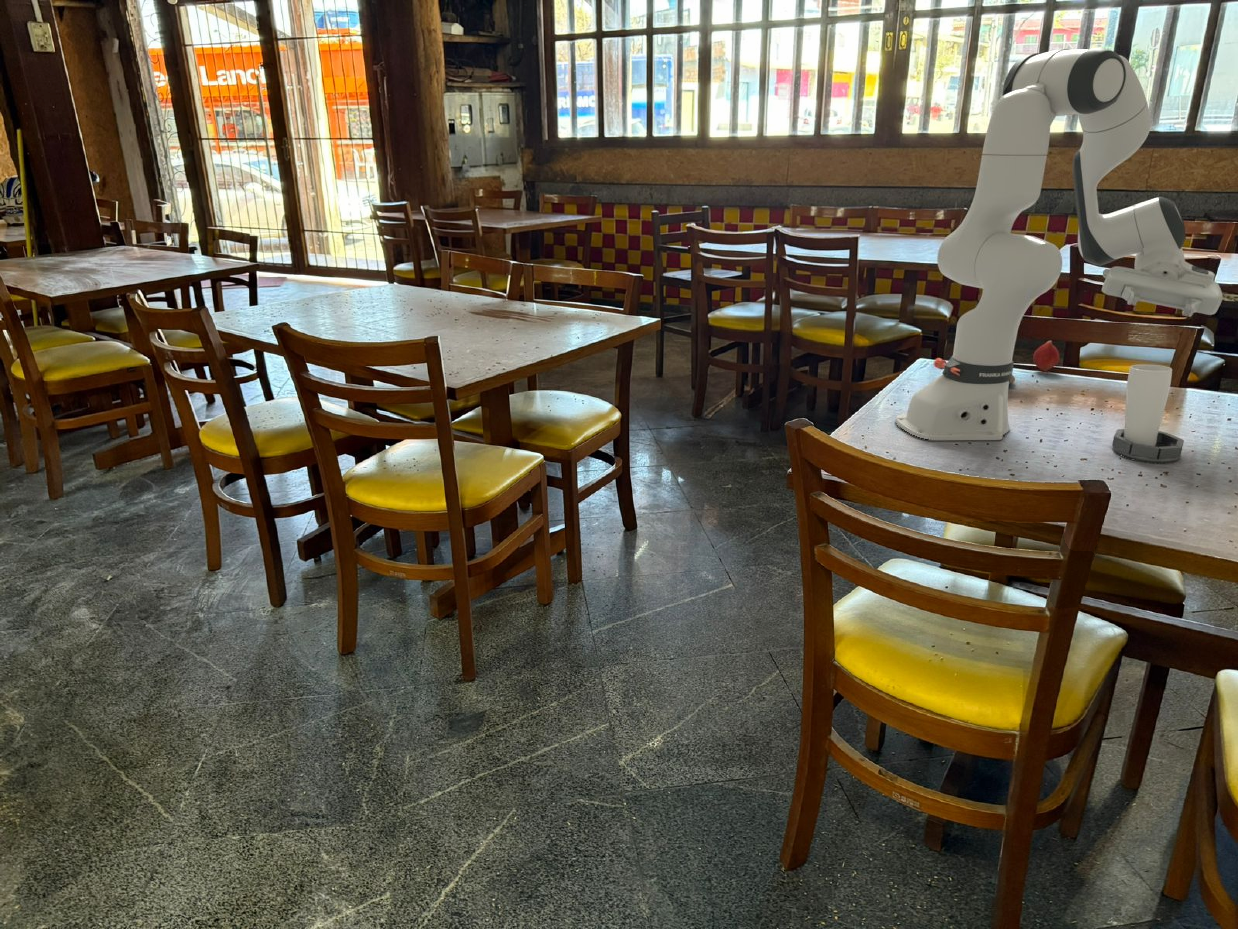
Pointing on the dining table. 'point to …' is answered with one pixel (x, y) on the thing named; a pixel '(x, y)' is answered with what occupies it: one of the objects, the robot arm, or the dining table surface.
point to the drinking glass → (1146, 402)
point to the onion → (1046, 356)
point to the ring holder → (1149, 448)
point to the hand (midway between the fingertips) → (1160, 307)
